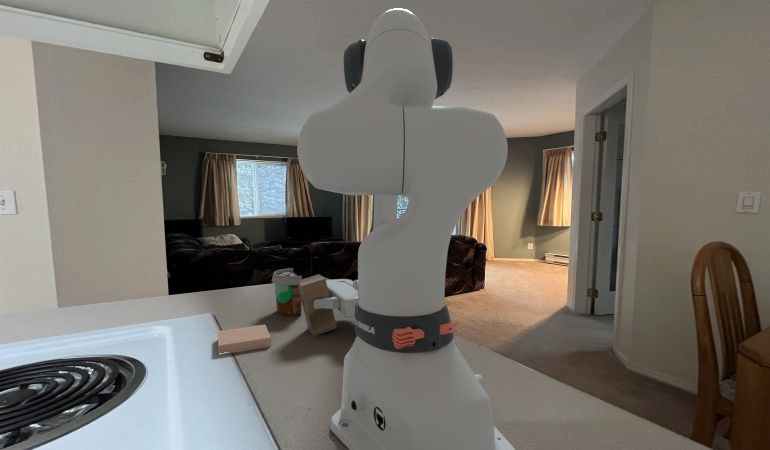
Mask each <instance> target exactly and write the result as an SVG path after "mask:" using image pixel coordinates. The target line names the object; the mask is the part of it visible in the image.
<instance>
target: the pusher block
mask: <svg viewBox="0 0 770 450" xmlns="http://www.w3.org/2000/svg"><path fill="white" fill-rule="evenodd" d="M326 280H327V279H326V277H325V276H323V275H321V274H320V273H318V274H315V275H312V276H308V277H305V278H302V280H299V281H297V285H298V289H299V293H300V297H301V306H302V308H303V309H302V310H303V313H304V317H305V321H306V322H305V323H306V324H307V325H306V326H307V330H308V331H309V332H310V333H311V335H312V337H318V336H320V335H323V334H325V333H327V332H330V331H333V330H335V329H337V328H338V326H337V323H336V319H335V313H334V311H333V310H334V309H326V308H320V309H315V308H314V307H313V299H315V298H322V299H323V298H330V296H329V291H328V287H327V283H326Z"/></svg>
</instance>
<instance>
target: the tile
mask: <svg viewBox="0 0 770 450" xmlns="http://www.w3.org/2000/svg"><path fill="white" fill-rule="evenodd" d="M269 332H270V331H269V330H268V327H267V325H266V324H259V325H251V326H246V327H244V326H243V327H239V328H238V327H237V328H229V329H223V330H218V331H217V340H218V341H217V343H218V345H217V347H218V349H217V353H218V354H219V353H224V352H231V353H230V354H234V353H239V352H247V351H251V350H252V351H253V350H259V349H264V348H265V349H266V348H270V347H272V343H271V342H272V338H271V335H270V333H269Z"/></svg>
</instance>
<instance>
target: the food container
mask: <svg viewBox="0 0 770 450" xmlns="http://www.w3.org/2000/svg"><path fill="white" fill-rule="evenodd" d="M302 279H303V278H302V275H298V274H297V273H295V272H294V268H293V267H291V268H290V267H288V268H282V269H278V270H275V271H274V272H273V275H272V279H271V283H274V291H275V292H274V293H275V302H276V312H277V314H278V315H280V316H283V317H284V316H285V317H301V316H302V301H301V297H300V293H299V289H298V285H297V281H299V280H302Z"/></svg>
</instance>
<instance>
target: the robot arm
mask: <svg viewBox="0 0 770 450" xmlns="http://www.w3.org/2000/svg"><path fill="white" fill-rule="evenodd" d="M340 66H341V68H340V69H341V71H340V72H341V78H342V81H343V84H344V86H345V87H346V91H347V92H348V94H347V95H346V96H344V97H343V98H342V99H341V100H339V101H337V102H336V103H333V104H332V105H329V106H328V107H325V108H322V109H320V110H317V111H315V112H312V113H311V114H310V115H309V116H308V117H307V119H306V121H305V122H304V124H303V125H302V127H301V128H300V129H301V130H300V131H299V135H298V139H297V146H296V147H297V149H296V151H297V159H298V164H299V166H300V169H301V171H302V172H303V173H302V174H303V175H304V177H306V179H307V181H308V182H310V184H311V185H312V186H313V187H314V188H315V189H318V190H323V191H327V192H332V193H337V194H343V195H347V196H372V204H371V205H372V207H371V226H370V230H369V232H368V234H367V235H366V236H365V237H364V238H363V239H362V241H361V242H360V244H359V248H358V252H357V272H358V273H357V279H355V280H352V279H348V278H339V279H338V278H337V279H336V278H335V279H326V283H327V287H328V291H329V296H330V298H323V299H322V298H315V299H313V307H314V308H315V309H320V308H326V309H333V310H335V309H336V310H337V311H338V312H339V313H341V314H342V315H343V316H344V317H345V318H349V319H353V322H354V334H355V335H356V337H355V339H354V342H353V344H352V345H351V347H350V349H349V350H348V351H347V353H346V355H345V356H344V359H343V369H342V370H343V373H342V387H341V388H342V389H341V390H342V392H341V404H340V406H341V407H340V408H339V409H338V410H337V411H336V412H335V413H333V415H332V416H331V418H330V423H329V428H330V431H331V432H332V433H333V434H334V435H335V436H336V437H337V438H338V439H339V440H340V441H341V442H342V444H344V445H345V446H346V447H347V449H348V450H516V449H515V447H514V446H513V444H511V443H510V441H508V440H507V438H506V437H505V436H504V435H503V434H502V433H501V432H500V431H499V429H498V428H497V426H495V421H494V420H495V419H494V413H493V407H492V402H491V399H490V397H489V394H487V392H486V390H487V389H486V387H487V386H486V382H485V379H484V377H483V376H482V375H481V374H478V373H476V374H474V372H473V370H472V369H471V367H470V366H469V364H468V363H467V361H466V360H465V358H464V356H463V355H462V353H461V351H460V349H458V347H457V346H456V343H455V342H454V337H455V335H454V333H458V331H459V330H458V329H453V328H454V327H456V326H458V322H455V321H453V322H452V319H451V314H450V313H449V308H448V305H447V304H446V303H445V293H446V292H445V290H446V289H445V288H446V287H445V286H446V271H447V260H448V252H449V251H448V250H449V246H450V242H451V238H452V235H453V233H454V230H455V228H456V225H457V223H458V222H459V220H460V218H461V217H462V215H463V213H464V212H465V211H466V210H467V209H468V207H469V206H470V205H471V204H472V203H473V202H474V201H475V200H476V199H477V198H478V197H479V196H480V195H481V194H483V193H484V192H486V191H487V190H489V189H490V188H491V187H492V186H493V185H494V184H495V183H496V181H497V180H498V179H499V177H501V174H502V173H503V171H504V168H505V165H506V162H507V158H508V151H509V149H508V147H509V146H508V139H507V136H506V132H505V130H504V128H503V126H502V124H501V123H500V121H499V119H498V118H497V117H496V116H495V115H494V114H493V113H491V112H486V111H482V110H477V109H473V108H467V107H464V106H460V105H459V106H458V105H433V104H434V102H435V100H437V99H438V98H440V97H443V95H445V94H446V92H447V91H448V90H450V88H451V85H452V82H453V80H454V77H455V74H456V60H455V56H454V53H453V47H452V46H451V44H450V43H449V42H448V41H447V40H445V39H441V38H436V37H431V38H430V37H429V35H428V33H427V30H426V29H425V26H424V24H423V23H422V21H421V20H420V19H419V18H418V16H416V15H415V14H414V13H413V12H411V11H409V10H408V9H404V8H393V9H392V8H391V9H389V10H386V11H385V12H383V13H382V14H380V16H379V17H377V19H375V21H374V23H373V24H372V27H371V28H370V30H369V34H368V36H367V40H364V39H359V40H358V41H355V42H353V43H350V44H349V45H348V46H347V47H346V49H345V50H344V51H343V58H342V60H341V65H340ZM398 196H402V197H405V198H407V199H408V202H407V206H406V209H405V211H404V212H403V214H401V215H400V216H399V217H398V216H397V214H398V199H399V198H398ZM397 217H398V218H397Z"/></svg>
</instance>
